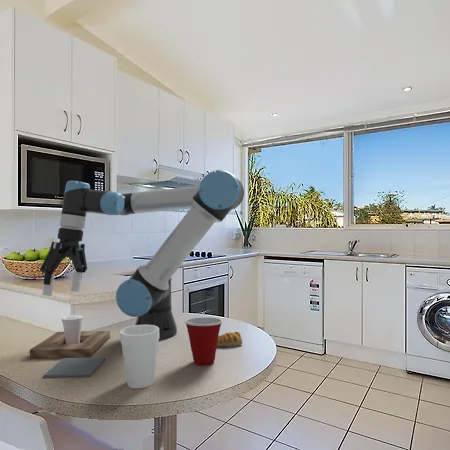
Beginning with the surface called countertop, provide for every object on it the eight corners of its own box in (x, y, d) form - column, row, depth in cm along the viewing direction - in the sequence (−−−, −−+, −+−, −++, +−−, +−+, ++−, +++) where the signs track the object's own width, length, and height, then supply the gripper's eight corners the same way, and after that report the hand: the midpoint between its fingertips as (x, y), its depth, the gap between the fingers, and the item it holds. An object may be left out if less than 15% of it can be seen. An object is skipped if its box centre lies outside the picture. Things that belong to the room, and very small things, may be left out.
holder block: (109, 338, 125) (109, 330, 125) (90, 357, 107) (90, 348, 107) (57, 338, 125) (57, 331, 125) (29, 358, 107) (29, 349, 107)
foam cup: (166, 377, 92) (166, 326, 92) (147, 393, 83) (146, 337, 83) (134, 373, 95) (133, 323, 95) (112, 388, 86) (111, 333, 86)
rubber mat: (105, 359, 105) (105, 357, 105) (89, 376, 93) (89, 374, 93) (63, 360, 105) (63, 357, 105) (43, 377, 93) (43, 375, 93)
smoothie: (75, 351, 112) (75, 306, 112) (57, 350, 113) (56, 305, 113) (87, 344, 118) (87, 301, 118) (70, 343, 120) (69, 301, 120)
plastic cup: (227, 356, 106) (227, 315, 106) (217, 370, 95) (217, 325, 95) (192, 353, 109) (191, 313, 109) (179, 367, 98) (178, 323, 98)
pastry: (216, 350, 112) (215, 337, 112) (209, 343, 118) (209, 331, 118) (244, 346, 115) (244, 334, 115) (236, 340, 121) (236, 328, 121)
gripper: (84, 229, 132) (75, 288, 130) (33, 223, 107) (22, 295, 106) (102, 232, 130) (94, 291, 129) (55, 226, 106) (44, 299, 104)
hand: (61, 293), depth 117 cm, fingers open, 13 cm apart
